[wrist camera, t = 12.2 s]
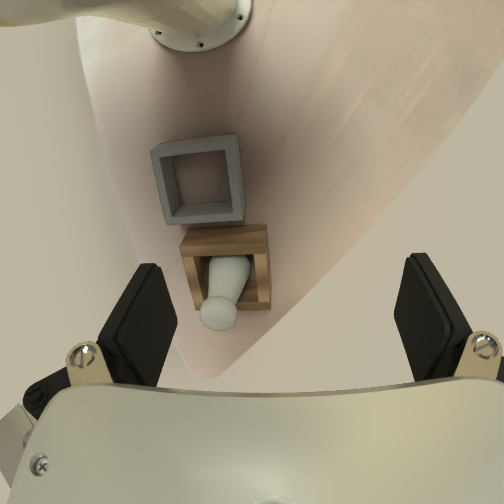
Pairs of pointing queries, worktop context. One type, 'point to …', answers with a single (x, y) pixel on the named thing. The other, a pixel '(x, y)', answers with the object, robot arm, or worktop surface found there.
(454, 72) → the worktop surface
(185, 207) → the grey open tray
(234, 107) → the worktop surface
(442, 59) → the worktop surface
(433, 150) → the worktop surface
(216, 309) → the salt shaker
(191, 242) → the brown wooden open box
